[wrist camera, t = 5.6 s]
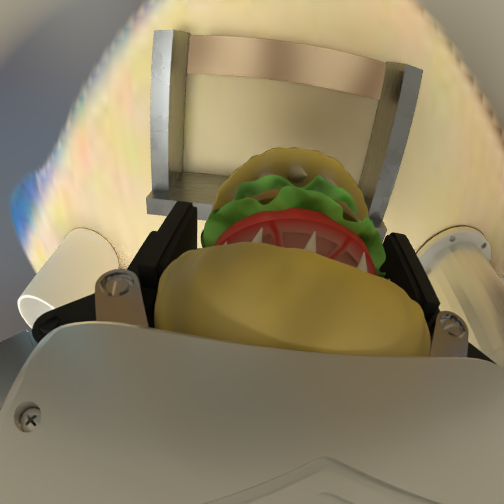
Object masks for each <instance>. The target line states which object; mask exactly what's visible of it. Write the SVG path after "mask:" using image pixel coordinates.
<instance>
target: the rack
mask: <svg viewBox="0 0 504 504" xmlns="http://www.w3.org/2000/svg"><path fill="white" fill-rule="evenodd" d="M189 34H190V33H186V32H182V31H177V30H158V31H154V39H153V54H152V74H151V173H152V191H151V192H150V194H149V195H148V196H147V197H146V204H147V214H153V215H162V216H168V214H169V213H170V211H171V210H172V208H173V207H174V205H175V204H176V202H177V201H184V202H192V203H193V206H195V207H197V219H198V220H207V219H208V217H209V215H210V213H211V208H212V206H213V205H214V203H215V202H216V196H217V193H218V190H219V188H220V186H221V185H222V184H223V183H224V182H225V181H226V180H228V179H229V178H230V177H229V176H220V175H210V174H200V173H189V172H183V134H184V107H185V87H186V71H187V57H188V45H189ZM386 63H387V64H386V69H385V75H384V80H383V86H382V91H381V96H380V100H379V104H378V108H377V113H376V117H375V122H374V126H373V131H372V135H371V139H370V143H369V147H368V152H367V156H366V159H365V163H364V167H363V171H362V175H361V179H360V182H359V186H358V187H359V189H360V190H361V191H362V193H363V196H364V201H365V203H366V205H367V208H368V213H369V219H370V220H372V221H373V225H374V227H375V229H376V230H377V231H378V232H379V234H380V237H381V240H382V242H383V239H384V237H385V234H386V231H387V228H386V226H385V225H384V223H383V221H382V220H383V217H384V214H385V211H386V208H387V205H388V202H389V199H390V196H391V193H392V190H393V187H394V184H395V181H396V177H397V174H398V171H399V167H400V164H401V161H402V157H403V154H404V150H405V146H406V143H407V139H408V135H409V131H410V127H411V123H412V119H413V115H414V111H415V107H416V102H417V98H418V93H419V88H420V83H421V78H422V73H423V70H421V69H418V68H416V67H413V66H410V65H407V64H401V63H393V62H386Z"/></svg>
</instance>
